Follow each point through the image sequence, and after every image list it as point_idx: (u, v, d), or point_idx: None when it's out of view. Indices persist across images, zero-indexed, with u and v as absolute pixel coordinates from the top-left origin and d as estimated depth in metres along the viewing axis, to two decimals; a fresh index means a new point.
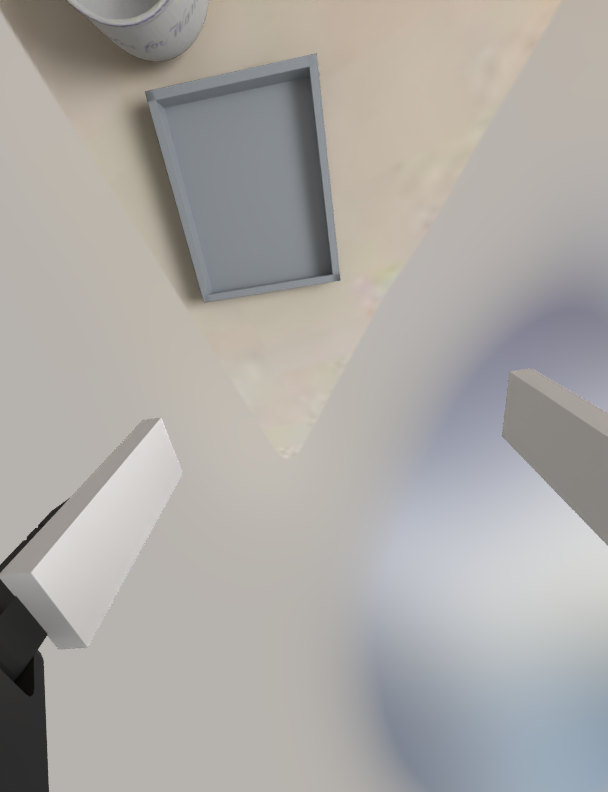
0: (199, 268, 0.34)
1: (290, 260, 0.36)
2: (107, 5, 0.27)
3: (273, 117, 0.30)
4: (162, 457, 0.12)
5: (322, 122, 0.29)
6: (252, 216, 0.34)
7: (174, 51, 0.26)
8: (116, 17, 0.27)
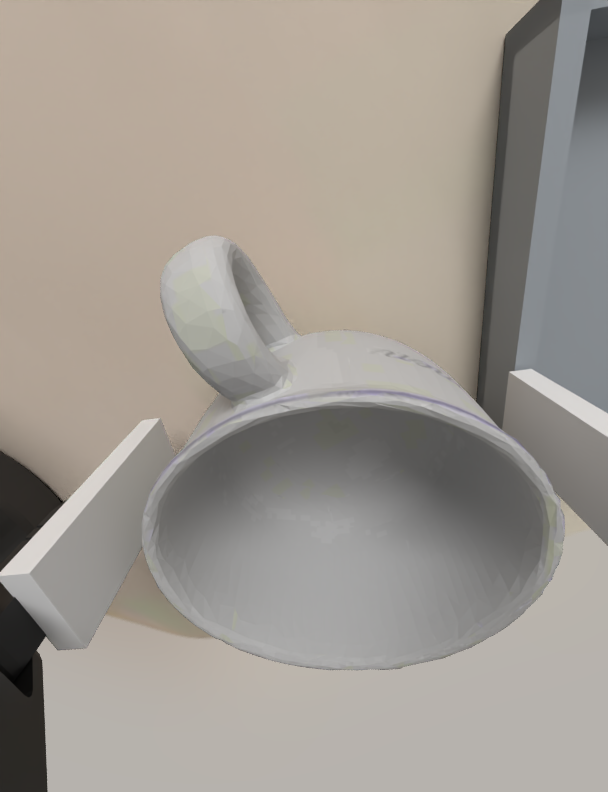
0: None
1: None
2: (357, 504, 0.16)
3: (593, 185, 0.11)
4: (161, 457, 0.12)
5: None
6: None
7: None
8: (371, 495, 0.16)
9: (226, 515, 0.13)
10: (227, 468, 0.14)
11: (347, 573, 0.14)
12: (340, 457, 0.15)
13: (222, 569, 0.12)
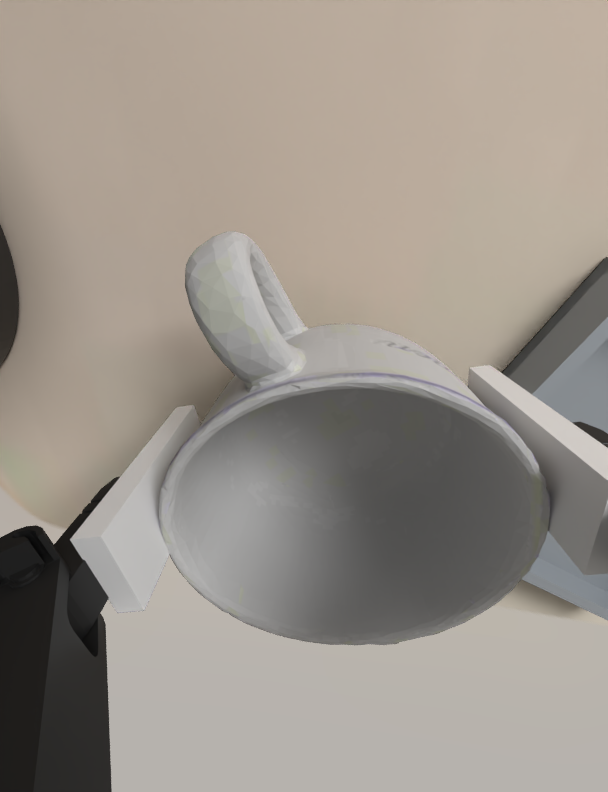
0: (603, 610, 0.20)
1: None
2: (357, 493, 0.17)
3: (581, 377, 0.16)
4: None
5: None
6: None
7: None
8: (371, 484, 0.16)
9: (233, 499, 0.14)
10: (234, 455, 0.15)
11: (347, 557, 0.14)
12: (343, 447, 0.16)
13: (229, 548, 0.12)
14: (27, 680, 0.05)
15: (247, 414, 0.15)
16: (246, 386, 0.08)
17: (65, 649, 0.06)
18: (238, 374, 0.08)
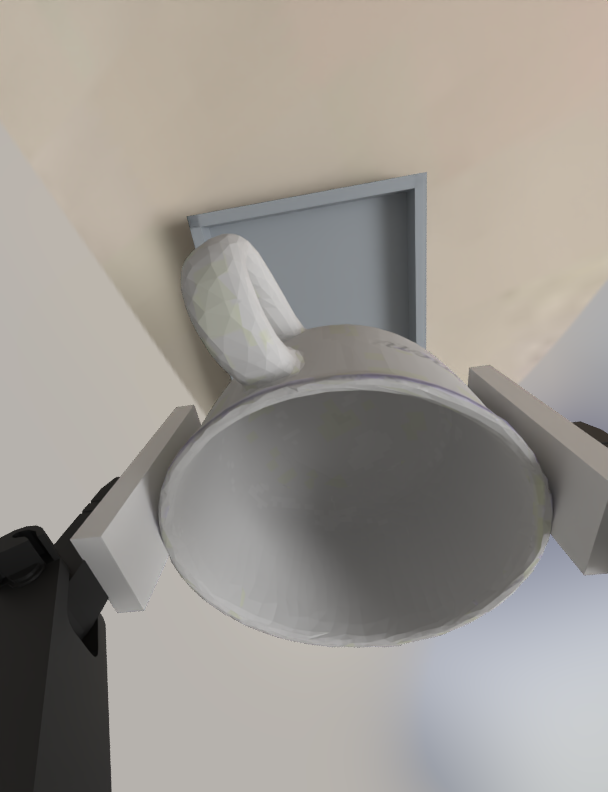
0: None
1: None
2: (359, 494, 0.16)
3: (353, 239, 0.23)
4: None
5: (424, 254, 0.21)
6: None
7: None
8: (373, 485, 0.16)
9: (234, 501, 0.14)
10: (235, 457, 0.15)
11: (349, 559, 0.14)
12: (343, 448, 0.16)
13: (230, 551, 0.12)
14: (28, 680, 0.05)
15: (247, 416, 0.15)
16: (244, 389, 0.08)
17: (65, 649, 0.06)
18: (236, 377, 0.08)
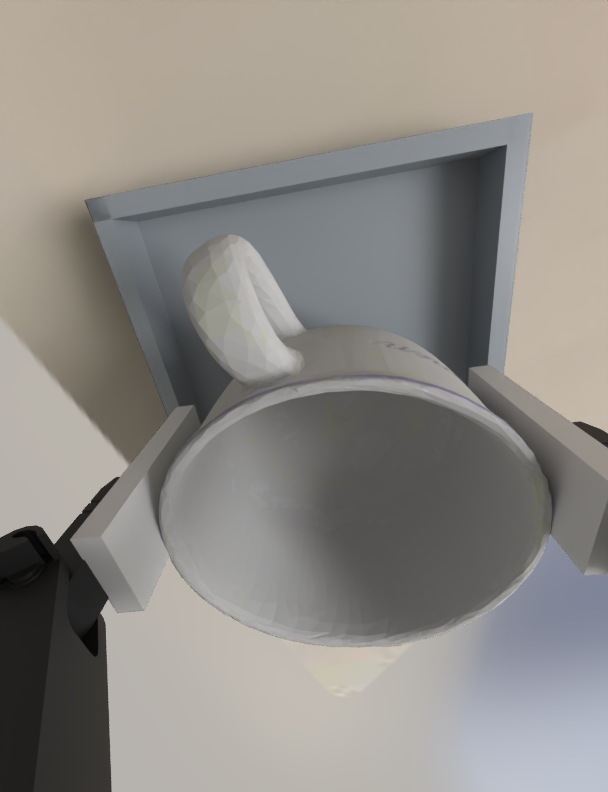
0: None
1: None
2: (359, 494, 0.16)
3: (383, 240, 0.14)
4: None
5: (512, 268, 0.12)
6: None
7: None
8: (373, 485, 0.16)
9: (234, 501, 0.14)
10: (235, 457, 0.15)
11: (349, 558, 0.14)
12: (344, 449, 0.16)
13: (231, 551, 0.12)
14: (28, 680, 0.05)
15: (247, 416, 0.15)
16: (244, 389, 0.08)
17: (65, 649, 0.06)
18: (236, 377, 0.08)
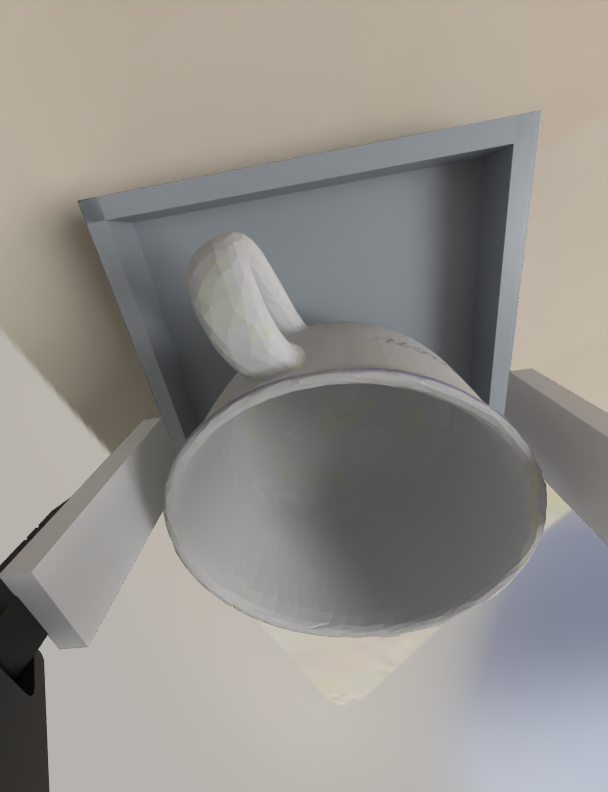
0: None
1: None
2: (359, 489, 0.17)
3: (385, 242, 0.13)
4: (162, 457, 0.12)
5: (518, 270, 0.12)
6: None
7: None
8: (373, 480, 0.17)
9: (236, 495, 0.14)
10: (237, 452, 0.15)
11: (349, 552, 0.15)
12: (344, 444, 0.16)
13: (233, 543, 0.13)
14: None
15: (249, 412, 0.15)
16: (247, 382, 0.09)
17: None
18: (239, 370, 0.08)
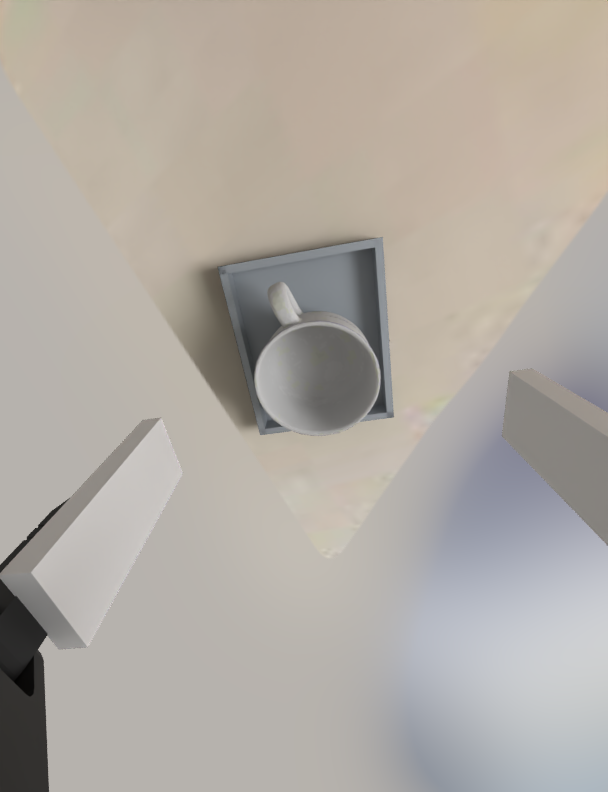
0: (258, 407, 0.36)
1: None
2: (329, 393, 0.35)
3: (335, 279, 0.32)
4: (162, 457, 0.12)
5: (384, 290, 0.30)
6: None
7: None
8: (335, 388, 0.35)
9: (273, 387, 0.33)
10: (273, 370, 0.33)
11: (323, 414, 0.33)
12: (321, 370, 0.35)
13: (273, 401, 0.31)
14: None
15: (278, 353, 0.33)
16: (283, 328, 0.27)
17: None
18: (282, 323, 0.27)
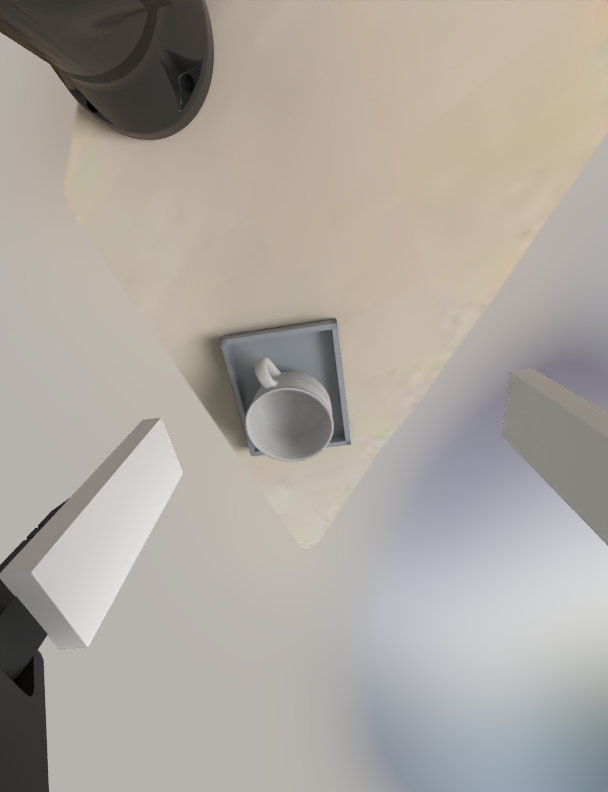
0: None
1: None
2: (302, 426, 0.47)
3: (305, 346, 0.43)
4: (162, 457, 0.12)
5: (340, 357, 0.42)
6: None
7: None
8: (307, 423, 0.47)
9: (260, 424, 0.44)
10: (260, 411, 0.45)
11: (296, 443, 0.45)
12: (296, 410, 0.47)
13: (259, 436, 0.43)
14: None
15: (264, 398, 0.45)
16: (265, 389, 0.39)
17: None
18: (264, 387, 0.38)
